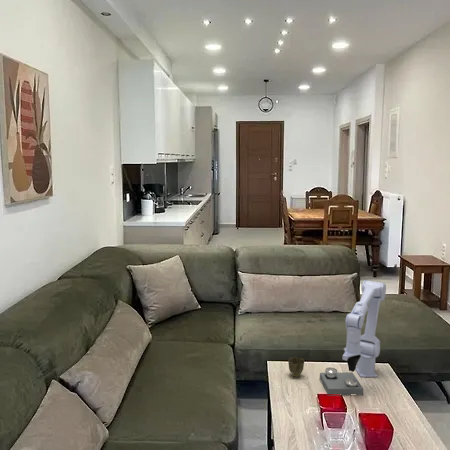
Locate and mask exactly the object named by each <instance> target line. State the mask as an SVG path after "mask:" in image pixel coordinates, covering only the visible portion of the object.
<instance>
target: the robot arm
mask: <svg viewBox="0 0 450 450" xmlns="http://www.w3.org/2000/svg"><path fill="white" fill-rule="evenodd" d="M361 292H362V294H361V297H360V300H359V301H357V302H355V304H354V306H353V308H352V309H351V312H349V313H347V314H346V317H345V321H344V322H345V330H346V345H345V347H344V348H343V351H344V353H343V354H342V360H344V361H346V363H347V366H348V372H349V371H350V372H352V373H354V372H355V371H356V372H357V374H358V375H359V376H360V378H378V374H377V373H376V372H375V371H376V358H378V357H379V355H380V352H381V340H380V339H379V338H378V337H377V336H376V332H377V324H378V318H379V317H378V316H379V311H380V305H381V302H382V301H385V298H386V293H387V285H386V284H385V282H378V281H373V280H367V279H364V280H363V282H362V283H361ZM366 314H367V315H366ZM365 316H366V319H365ZM365 320H366V322H365V326H364V321H365ZM363 326H364V334H362V328H363Z"/></svg>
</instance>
